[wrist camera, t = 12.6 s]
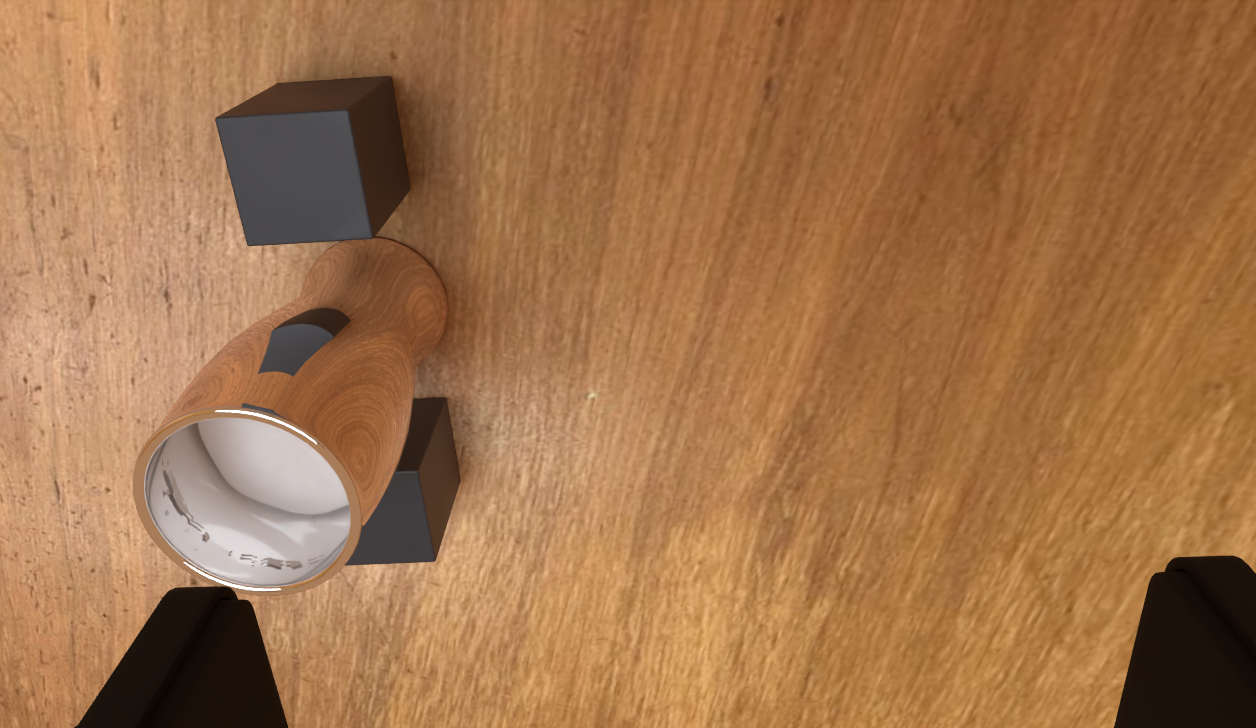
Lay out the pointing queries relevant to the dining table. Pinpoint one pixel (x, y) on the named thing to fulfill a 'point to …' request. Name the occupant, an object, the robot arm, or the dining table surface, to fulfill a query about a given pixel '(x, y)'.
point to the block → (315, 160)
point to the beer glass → (295, 426)
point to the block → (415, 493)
